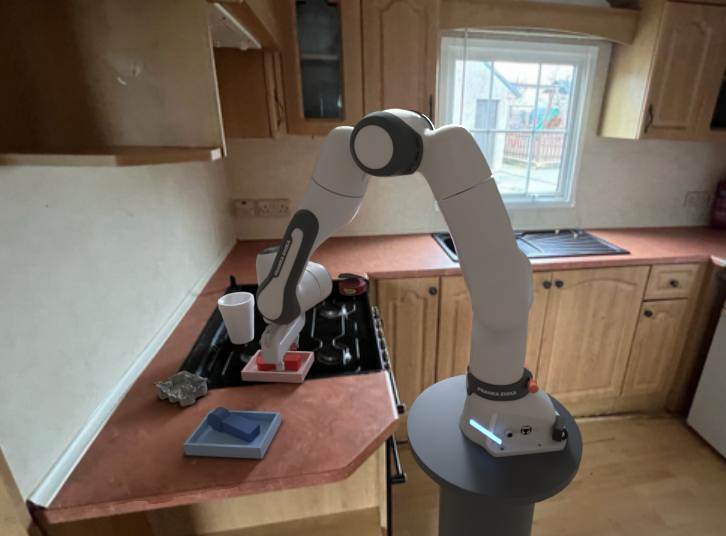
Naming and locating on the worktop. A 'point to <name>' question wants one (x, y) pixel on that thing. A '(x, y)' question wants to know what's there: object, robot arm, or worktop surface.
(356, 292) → the canned food
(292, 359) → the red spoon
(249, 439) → the dark blue block
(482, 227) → the robot arm
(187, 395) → the egg carton
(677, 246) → the worktop surface
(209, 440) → the blue tray
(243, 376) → the rose tray
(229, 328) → the foam cup
